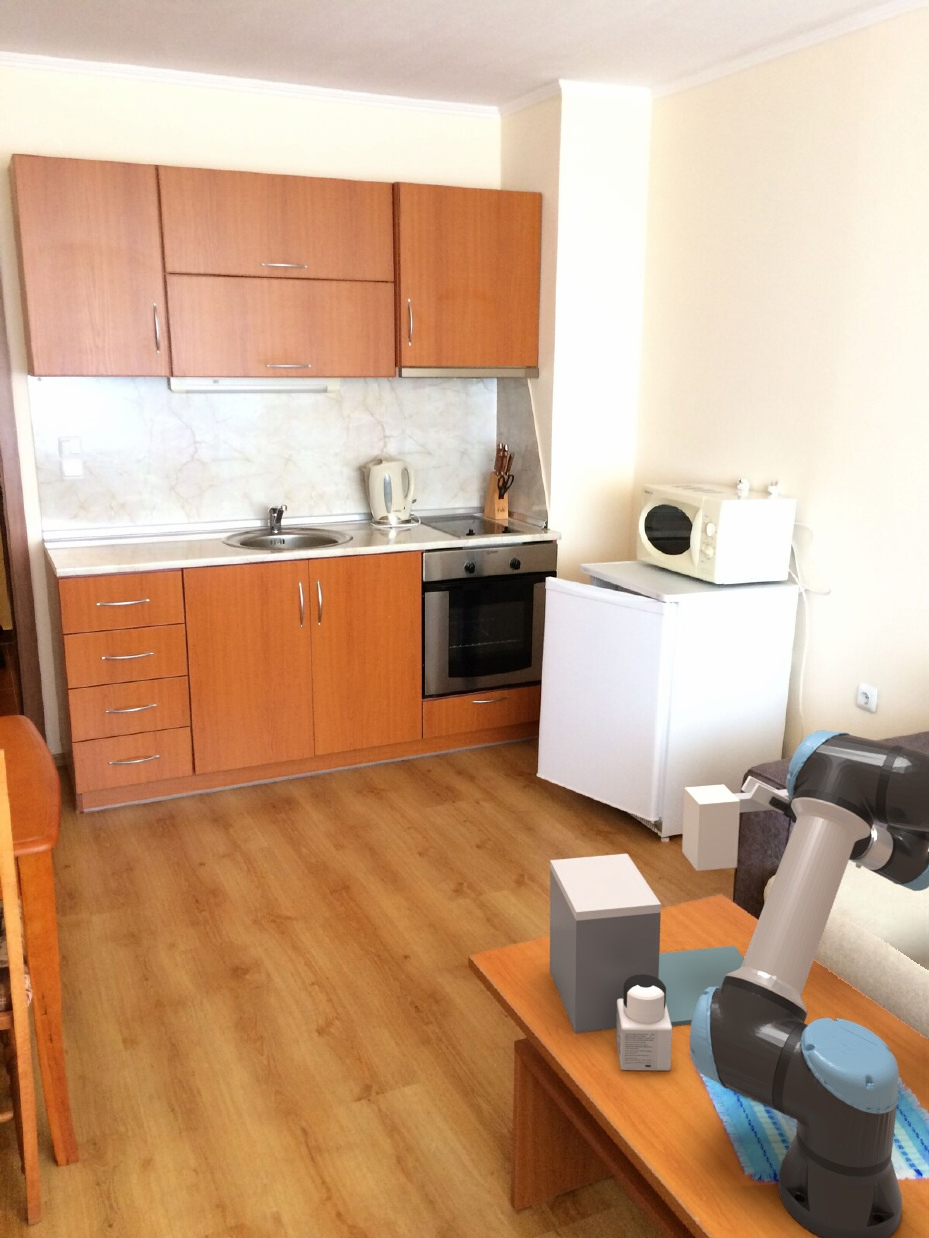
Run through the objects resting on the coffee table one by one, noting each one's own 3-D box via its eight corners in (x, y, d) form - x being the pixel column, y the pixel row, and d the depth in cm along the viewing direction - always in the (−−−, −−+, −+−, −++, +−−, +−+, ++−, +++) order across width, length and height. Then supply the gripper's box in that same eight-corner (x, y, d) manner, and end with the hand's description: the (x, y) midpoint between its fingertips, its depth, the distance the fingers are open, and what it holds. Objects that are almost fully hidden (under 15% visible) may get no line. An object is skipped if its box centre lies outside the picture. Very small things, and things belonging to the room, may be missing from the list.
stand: (624, 963, 190) (627, 853, 184) (657, 1023, 172) (661, 904, 167) (549, 971, 188) (550, 860, 182) (575, 1032, 170) (576, 912, 165)
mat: (734, 949, 194) (734, 945, 194) (781, 1013, 175) (782, 1009, 174) (630, 959, 191) (630, 956, 191) (667, 1026, 172) (667, 1022, 172)
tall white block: (780, 843, 182) (784, 779, 180) (798, 861, 176) (802, 795, 173) (682, 851, 180) (684, 787, 177) (696, 870, 173) (699, 804, 170)
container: (615, 1039, 169) (617, 968, 166) (663, 1039, 168) (666, 968, 165) (620, 1070, 161) (622, 997, 158) (671, 1071, 161) (673, 997, 158)
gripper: (869, 879, 174) (757, 825, 168) (824, 838, 189) (720, 787, 183) (893, 842, 173) (781, 785, 167) (846, 804, 188) (742, 751, 182)
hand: (750, 786), depth 175 cm, fingers closed on tall white block, 2 cm apart
